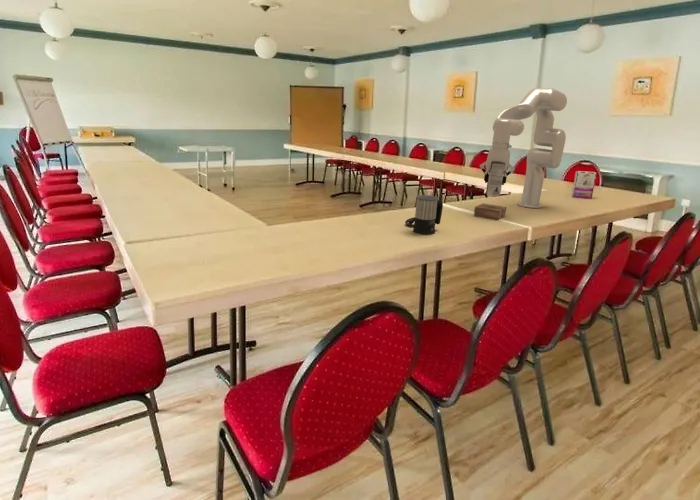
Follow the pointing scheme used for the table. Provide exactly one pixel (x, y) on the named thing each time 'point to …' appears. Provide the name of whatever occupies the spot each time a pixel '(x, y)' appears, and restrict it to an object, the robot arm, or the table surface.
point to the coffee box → (495, 178)
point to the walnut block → (490, 211)
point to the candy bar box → (583, 184)
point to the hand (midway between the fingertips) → (494, 183)
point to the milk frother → (426, 214)
